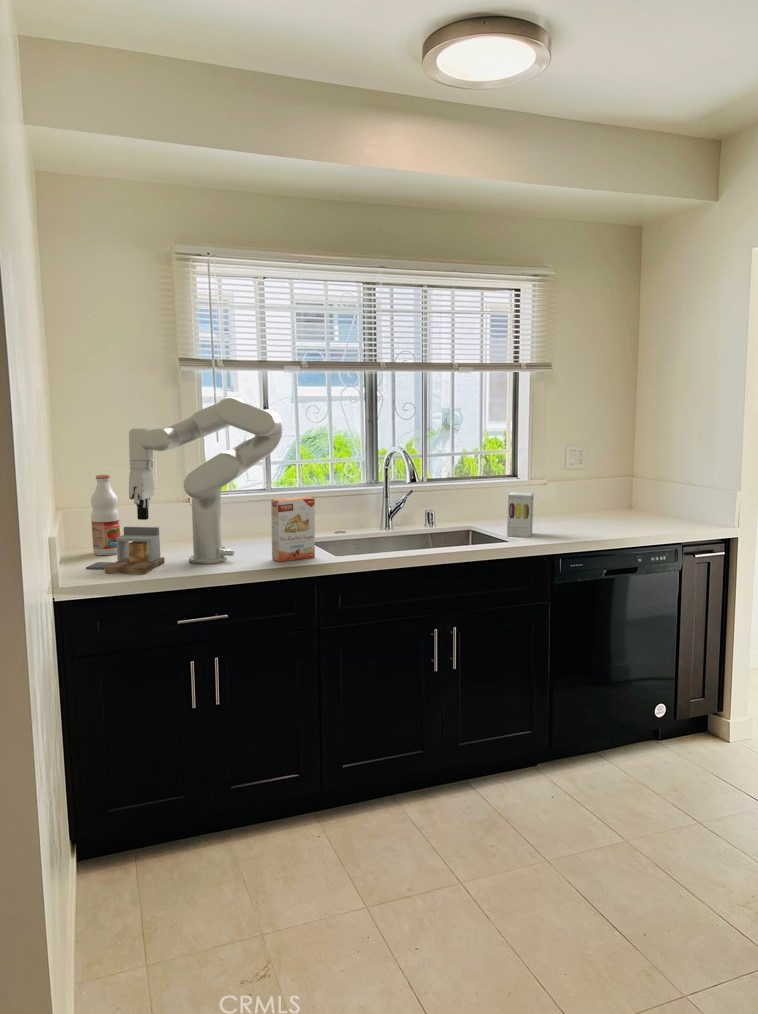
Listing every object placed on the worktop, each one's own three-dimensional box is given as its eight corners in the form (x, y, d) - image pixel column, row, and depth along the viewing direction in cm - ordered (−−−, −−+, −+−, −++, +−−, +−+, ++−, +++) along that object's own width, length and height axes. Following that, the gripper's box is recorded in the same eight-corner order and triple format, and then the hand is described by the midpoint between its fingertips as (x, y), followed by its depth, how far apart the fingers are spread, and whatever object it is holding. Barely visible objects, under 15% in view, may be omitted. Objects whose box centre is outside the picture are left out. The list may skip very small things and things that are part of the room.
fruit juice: (98, 550, 272) (94, 474, 268) (124, 550, 272) (120, 473, 268) (89, 556, 262) (84, 476, 258) (116, 555, 262) (112, 476, 258)
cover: (160, 557, 249) (159, 527, 247) (151, 561, 242) (150, 530, 240) (127, 556, 250) (125, 526, 248) (117, 561, 243) (115, 530, 241)
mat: (120, 564, 249) (120, 562, 249) (109, 569, 241) (109, 567, 241) (97, 563, 250) (97, 562, 250) (85, 569, 242) (85, 567, 242)
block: (150, 564, 249) (149, 540, 248) (144, 567, 244) (143, 543, 243) (136, 564, 249) (135, 540, 248) (129, 567, 244) (128, 543, 243)
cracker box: (279, 562, 251) (277, 500, 248) (271, 559, 256) (270, 498, 253) (316, 557, 258) (315, 497, 255) (307, 554, 263) (306, 495, 260)
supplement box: (506, 536, 297) (507, 494, 295) (509, 532, 306) (510, 491, 304) (530, 537, 294) (531, 495, 292) (532, 533, 303) (534, 492, 301)
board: (164, 563, 250) (164, 557, 250) (144, 574, 235) (144, 567, 234) (127, 562, 252) (127, 556, 251) (105, 573, 236) (104, 567, 236)
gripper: (140, 463, 258) (141, 515, 261) (120, 466, 244) (122, 522, 246) (161, 463, 257) (162, 516, 260) (142, 467, 243) (144, 523, 245)
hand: (143, 519), depth 253 cm, fingers closed
